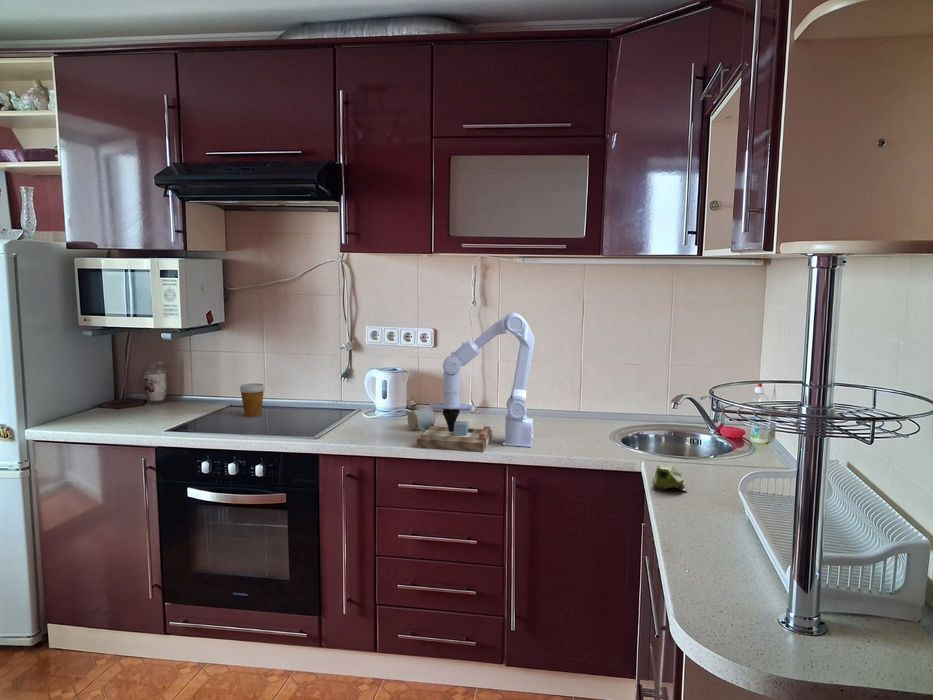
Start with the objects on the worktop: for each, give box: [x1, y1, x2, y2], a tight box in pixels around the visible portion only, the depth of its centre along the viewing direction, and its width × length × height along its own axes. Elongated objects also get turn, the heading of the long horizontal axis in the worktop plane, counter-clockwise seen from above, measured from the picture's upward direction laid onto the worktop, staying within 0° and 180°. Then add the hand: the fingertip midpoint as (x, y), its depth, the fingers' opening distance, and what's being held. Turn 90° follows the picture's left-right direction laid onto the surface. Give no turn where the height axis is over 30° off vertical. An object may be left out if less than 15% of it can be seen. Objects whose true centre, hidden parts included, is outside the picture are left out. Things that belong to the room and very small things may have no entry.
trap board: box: [416, 426, 493, 453], centre depth 223 cm, size 22×18×5 cm
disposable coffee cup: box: [239, 382, 266, 418], centre depth 260 cm, size 10×10×12 cm
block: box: [454, 420, 469, 436], centre depth 222 cm, size 4×4×4 cm
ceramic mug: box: [407, 406, 436, 433], centre depth 240 cm, size 11×8×8 cm
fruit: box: [651, 463, 686, 491], centre depth 179 cm, size 9×9×8 cm
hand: (451, 431), depth 223 cm, fingers closed
